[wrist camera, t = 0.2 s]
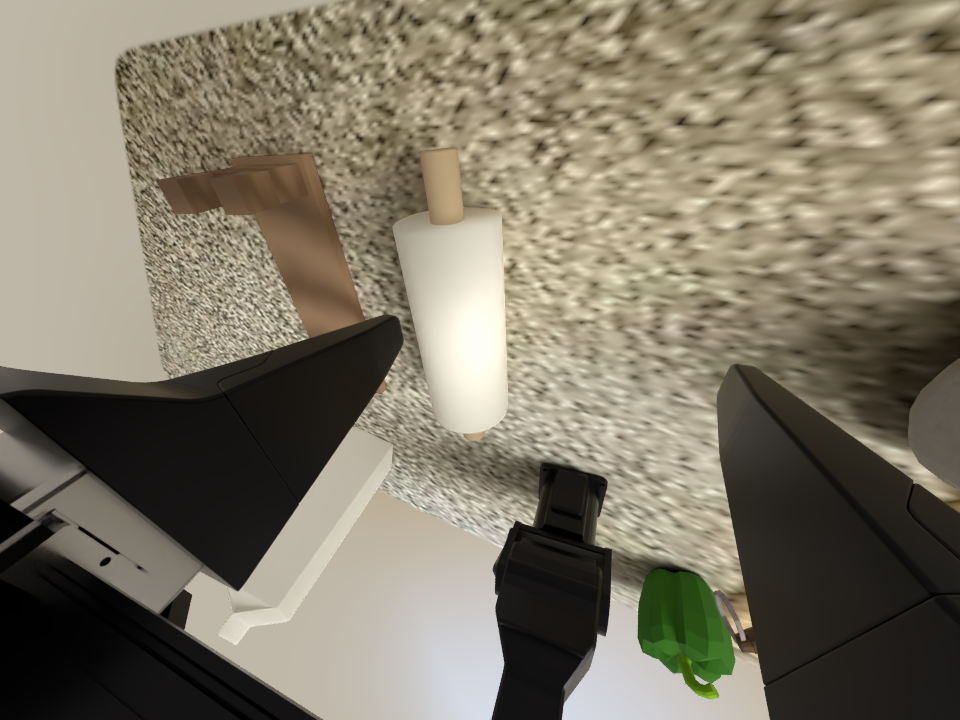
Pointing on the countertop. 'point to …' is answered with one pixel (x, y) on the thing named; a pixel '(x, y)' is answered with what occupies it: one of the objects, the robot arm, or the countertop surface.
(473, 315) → the kitchen roll
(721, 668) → the bell pepper
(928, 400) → the coffee pot
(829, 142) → the countertop surface
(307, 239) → the bracket
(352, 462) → the milk
